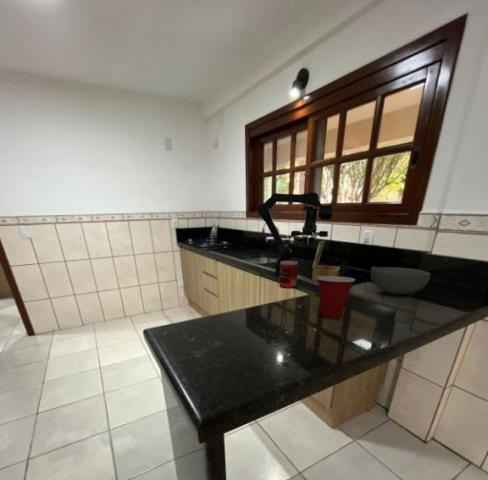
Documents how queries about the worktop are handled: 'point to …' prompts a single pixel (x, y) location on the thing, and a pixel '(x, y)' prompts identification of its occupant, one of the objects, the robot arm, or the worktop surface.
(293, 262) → the canned food
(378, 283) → the bowl
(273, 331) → the worktop surface
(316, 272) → the chest
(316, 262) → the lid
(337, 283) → the plastic cup
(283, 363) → the worktop surface
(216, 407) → the worktop surface
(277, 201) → the robot arm
